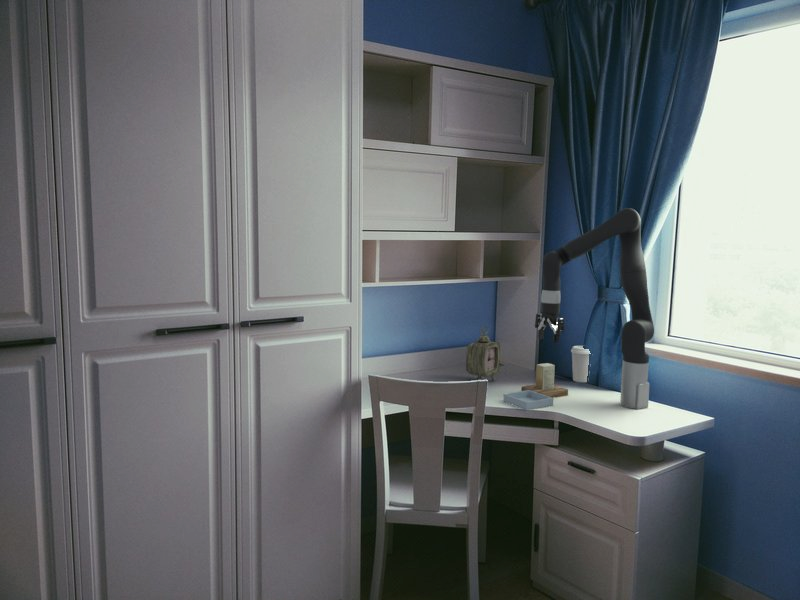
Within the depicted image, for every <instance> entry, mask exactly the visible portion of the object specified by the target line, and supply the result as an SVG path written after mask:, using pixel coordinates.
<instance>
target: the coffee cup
mask: <svg viewBox="0 0 800 600" xmlns="http://www.w3.org/2000/svg"><path fill="white" fill-rule="evenodd" d="M583 346H584V345H574V346H572V347H571V349H570V352H571V360H572V364H571V365H572V380H573V381H574V382H575V383H587V376H588V365H589V354H591V353H590V351H589V349H584V348H583Z"/></svg>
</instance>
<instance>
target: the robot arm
mask: <svg viewBox="0 0 800 600" xmlns="http://www.w3.org/2000/svg"><path fill="white" fill-rule="evenodd" d="M640 215H641V214H639V213H638V211H636V210H635V209H634V208H631V207H630V208H628V207H625V208H622V209H620V210H618V211H617V212H616V213H615V214H614V215H612V216H611V217H610V218H608V219H607V220H606V221H604V222H602V223H601V224H599V225H598V226H597V227H595V228H593V229H591V230H589V231H587V232H585V233H583V234H581V235H579V236H577V237H576V238H574V239H572V240H570V241H568V242H567V243H565V244H564V245H563V246H561V247H559V248H557V249H554V250H553V251H550V252H547V253H546V254H545V255H544V256H543V258H542V275H543V276H542V277H543V279H542V291H541V298H540V312H539V313H536V314H535V321H534V322H535V323H534V328H535V329H537V330H538V335H537V337H538V340H544V339H545V328H546V327H549V328H550V329H551V330H552V331H553V343H554V344H559V342H560V336H561V334H562V333H565V318H564V317H559V315H560V311H561V300H562V299H561V296H562V295H561V288H562V287H561V286H562V285H561V283H562V282H561V281H562V279H561V277H560V275H561V273H560V272H561V267H562V266H564V265H566V264H567V263H569V262H571V261H572V260H575V259H577V258H579V257H581V256H584V255H586V254H587V253H588V252H591V251H592V250H593V249H595V248H597V247H598V246H600V245H601V244H603V243H605V241H607V240H610V239H612V238H613V237H616V236H619V241H620V257H619V259H620V260H619V273H620V276H619V277H620V283H621V289H622V291H623V293H624V295H625V297H626V299H627V301H628V303H629V306H630V309H631V310H630V311H631V320H628V321H626V322H625V323H624V324H623V326H622V330H621V339H620V342H621V344H620V345H621V348H620V349H621V355H622V369H621V371H622V372H621V381H620V383H621V387H620V400H619V404H620V405H621V406H622V407H625V408H629V409H635V410H641V409H645V408H646V409H647V408H648V407H649V398H650V397H649V396H650V382H648V379H649V378H648V377H649V365H650V364H649V362H650V356H649V354H648V353H647V352H646V347H645V346H646V343H647V342H648V343H649V341H651V340H652V339H653V338H654V334H655V326H654V321H653V315H652V312H651V308H650V300H649V299H650V298H649V297H650V296H649V291H648V290H649V289H648V277H647V267H646V261H645V257H644V252H643V249H642V237H641V236H642V235H641V233H642V232H641V230H642V229H641V228H642V218H641V216H640Z"/></svg>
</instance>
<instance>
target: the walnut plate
mask: <svg viewBox="0 0 800 600" xmlns="http://www.w3.org/2000/svg"><path fill="white" fill-rule="evenodd" d="M520 390H521V391H527V390H531V391H534V392H537V393H540V394H543V395H545V396H548V397H551V398H553V399H554V397H555V398H560V397H567V396H569V389H568V388H565V387H562V386H559V385H555V384H554V389H550V390H543V391H542V390H539V389H536V383H535V384H530V385H529V384H528V385H522V386H521V389H520Z"/></svg>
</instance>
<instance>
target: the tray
mask: <svg viewBox="0 0 800 600" xmlns="http://www.w3.org/2000/svg"><path fill="white" fill-rule="evenodd" d="M502 399H503V401H505V402H504V403H506V402H507V403H506V404H508V403H510V404H509V405H511V404H513V405H512V406H514V405H515V406H514V407H516V406H517V407H516V408H519V407H520V409H521V408H522V410H524V411H532V410H537V409H543V408H548V407H549V406H550V407H554V398H551V397H548V396H545V395H543V394H540V393H537V392H534V391H531V390H527V391H514V392H509V393H508V392H507V393H503V398H502ZM503 401H502V402H503ZM550 407H549V408H550Z"/></svg>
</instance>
